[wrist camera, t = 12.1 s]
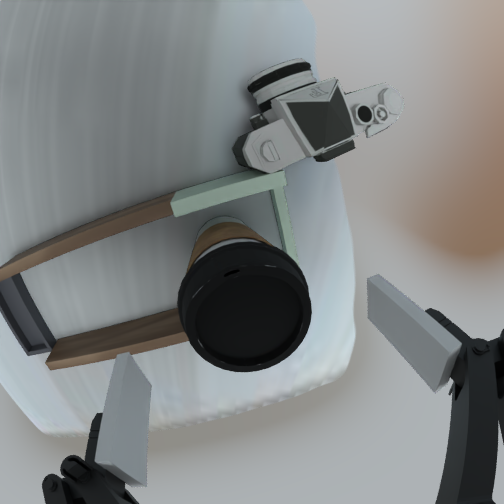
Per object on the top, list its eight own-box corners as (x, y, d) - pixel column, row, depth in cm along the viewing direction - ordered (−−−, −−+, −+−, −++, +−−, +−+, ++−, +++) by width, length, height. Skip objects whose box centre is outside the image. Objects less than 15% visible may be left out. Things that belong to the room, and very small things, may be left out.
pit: (-9, 274, 24) (-16, 279, 22) (14, 262, 24) (7, 268, 23) (32, 348, 28) (27, 356, 27) (57, 342, 29) (52, 351, 27)
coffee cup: (251, 192, 28) (308, 234, 14) (272, 265, 31) (330, 352, 17) (171, 220, 27) (149, 289, 13) (200, 291, 30) (209, 395, 16)
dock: (176, 191, 26) (170, 202, 20) (274, 164, 27) (296, 167, 21) (214, 306, 31) (220, 341, 25) (298, 280, 32) (320, 308, 26)
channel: (14, 256, 24) (-7, 272, 20) (176, 191, 26) (171, 199, 22) (62, 346, 29) (50, 370, 25) (214, 306, 31) (218, 332, 27)
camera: (340, 56, 24) (393, 29, 15) (370, 124, 27) (431, 121, 18) (206, 104, 24) (212, 77, 15) (246, 180, 27) (272, 195, 18)
